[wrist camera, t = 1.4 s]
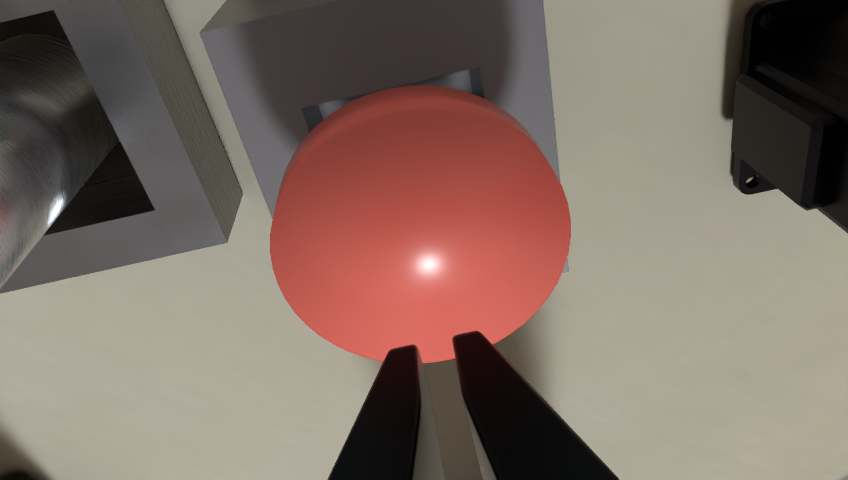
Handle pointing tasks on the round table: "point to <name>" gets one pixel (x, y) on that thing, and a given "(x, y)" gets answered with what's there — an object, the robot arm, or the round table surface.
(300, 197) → the release button
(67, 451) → the round table surface
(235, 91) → the block
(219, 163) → the socket
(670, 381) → the round table surface
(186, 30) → the round table surface
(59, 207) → the shiny silver cylinder
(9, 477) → the battery
